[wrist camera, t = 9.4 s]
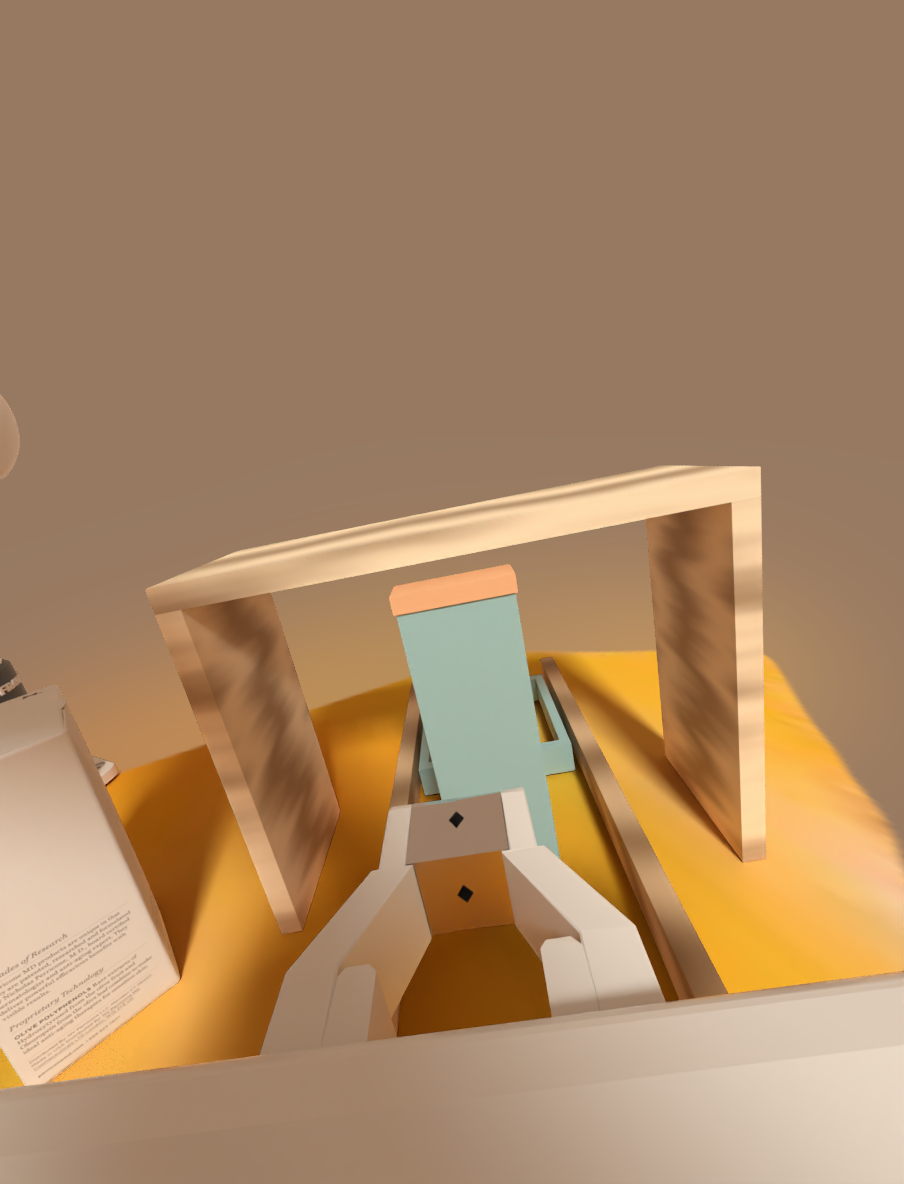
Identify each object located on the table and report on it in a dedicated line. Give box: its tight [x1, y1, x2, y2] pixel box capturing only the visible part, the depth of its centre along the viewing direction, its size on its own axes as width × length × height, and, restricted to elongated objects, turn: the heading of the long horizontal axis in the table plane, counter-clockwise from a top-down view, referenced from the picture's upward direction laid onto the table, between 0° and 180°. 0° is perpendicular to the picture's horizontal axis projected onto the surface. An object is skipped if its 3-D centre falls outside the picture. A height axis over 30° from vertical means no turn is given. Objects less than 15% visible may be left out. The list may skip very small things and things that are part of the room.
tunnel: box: [145, 466, 766, 1035], centre depth 28 cm, size 34×26×20 cm
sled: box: [389, 564, 575, 859], centre depth 31 cm, size 21×11×18 cm, turn 0°
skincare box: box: [0, 685, 180, 1086], centre depth 23 cm, size 8×7×16 cm
